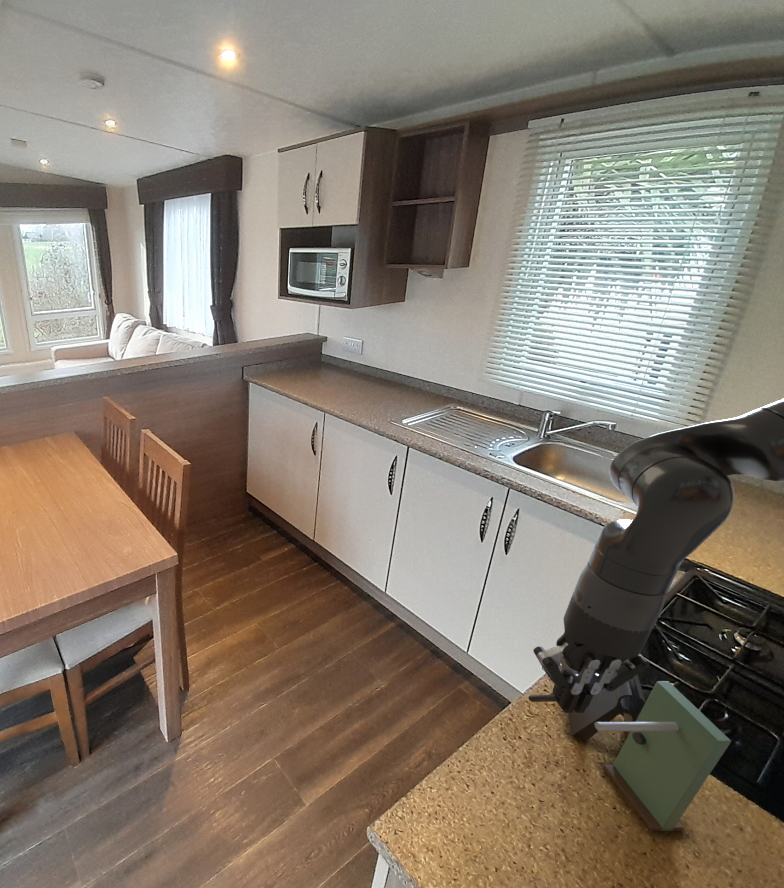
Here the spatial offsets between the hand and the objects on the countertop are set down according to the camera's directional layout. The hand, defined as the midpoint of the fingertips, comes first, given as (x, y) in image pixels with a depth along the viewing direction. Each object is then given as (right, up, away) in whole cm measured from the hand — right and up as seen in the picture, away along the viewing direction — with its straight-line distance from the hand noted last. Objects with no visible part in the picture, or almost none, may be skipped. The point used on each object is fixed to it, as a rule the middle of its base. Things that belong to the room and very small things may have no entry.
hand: (568, 706), depth 63 cm
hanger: (0, -1, +3) cm, 4 cm away
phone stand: (+13, -10, +10) cm, 20 cm away
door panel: (+7, -14, +2) cm, 16 cm away
